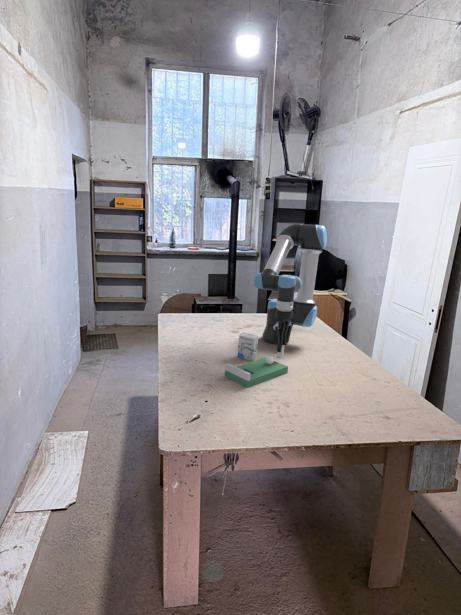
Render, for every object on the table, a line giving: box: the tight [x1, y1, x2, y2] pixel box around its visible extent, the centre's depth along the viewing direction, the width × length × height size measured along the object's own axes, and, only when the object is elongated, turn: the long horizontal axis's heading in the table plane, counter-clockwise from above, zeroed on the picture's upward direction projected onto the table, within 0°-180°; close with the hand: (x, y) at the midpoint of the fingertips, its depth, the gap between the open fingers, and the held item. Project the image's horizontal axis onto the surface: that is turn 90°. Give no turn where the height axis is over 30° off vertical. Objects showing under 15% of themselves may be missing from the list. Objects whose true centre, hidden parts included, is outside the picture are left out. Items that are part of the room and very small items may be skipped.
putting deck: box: [224, 356, 289, 388], centre depth 188 cm, size 14×26×6 cm, turn 133°
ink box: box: [237, 332, 259, 362], centre depth 207 cm, size 9×5×12 cm, turn 62°
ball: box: [265, 355, 275, 365], centre depth 193 cm, size 4×4×4 cm
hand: (280, 358), depth 198 cm, fingers closed
